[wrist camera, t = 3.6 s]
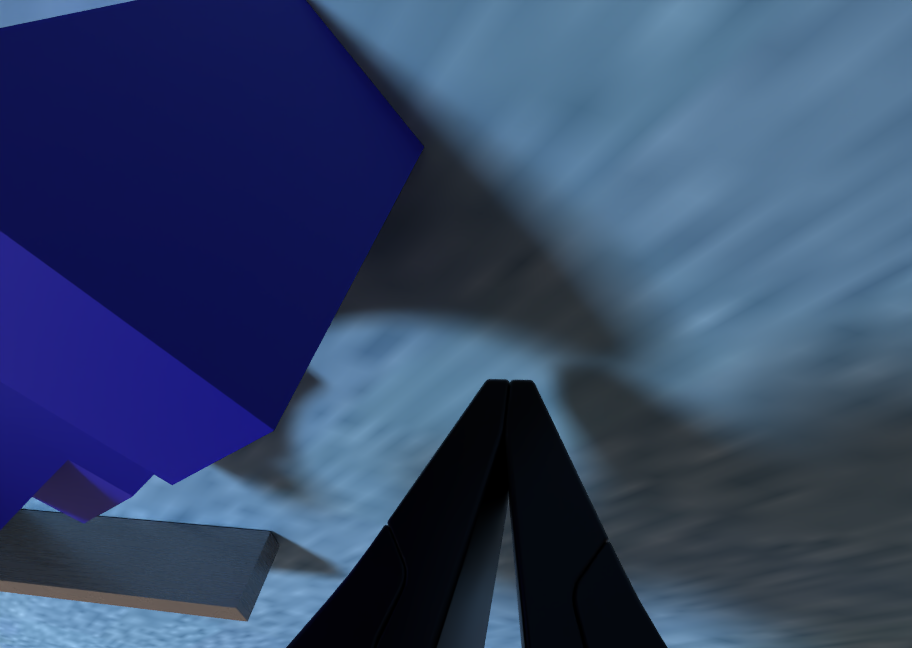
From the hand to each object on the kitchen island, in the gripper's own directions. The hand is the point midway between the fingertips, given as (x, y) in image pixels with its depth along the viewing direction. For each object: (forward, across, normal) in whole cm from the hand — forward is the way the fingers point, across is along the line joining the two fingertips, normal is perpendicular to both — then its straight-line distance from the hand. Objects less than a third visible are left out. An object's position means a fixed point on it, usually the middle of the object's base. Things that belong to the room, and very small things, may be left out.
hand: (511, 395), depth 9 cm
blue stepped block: (+2, +7, -1) cm, 7 cm away
